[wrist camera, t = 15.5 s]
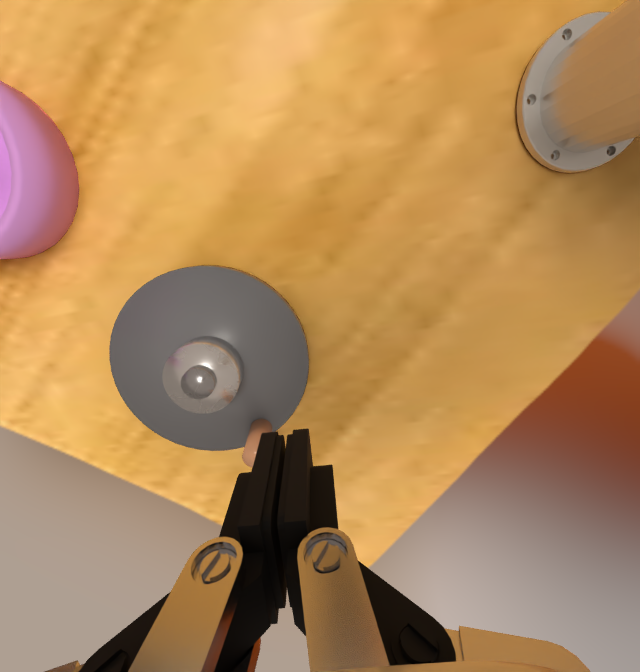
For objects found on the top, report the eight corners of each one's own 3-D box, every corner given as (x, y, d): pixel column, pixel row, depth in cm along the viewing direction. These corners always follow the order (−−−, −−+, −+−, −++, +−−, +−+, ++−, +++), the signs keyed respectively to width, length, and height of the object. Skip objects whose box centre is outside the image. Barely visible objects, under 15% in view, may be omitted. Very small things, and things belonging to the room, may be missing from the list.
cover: (212, 322, 32) (200, 332, 28) (257, 374, 34) (252, 390, 30) (159, 362, 33) (141, 377, 29) (206, 411, 35) (194, 432, 31)
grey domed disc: (235, 225, 32) (218, 219, 25) (342, 382, 37) (351, 412, 30) (78, 334, 34) (23, 355, 27) (200, 469, 39) (179, 515, 32)
